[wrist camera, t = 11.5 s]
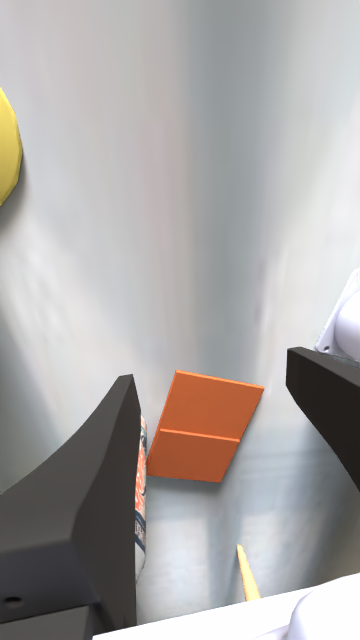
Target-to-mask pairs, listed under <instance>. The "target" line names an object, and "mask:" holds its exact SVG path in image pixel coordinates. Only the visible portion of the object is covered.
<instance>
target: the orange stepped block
mask: <svg viewBox="0 0 360 640" xmlns="http://www.w3.org/2000/svg"><path fill="white" fill-rule="evenodd" d="M263 391H264V387H263V386H259V385H253V384H248V383H243V382H237V381H232V380H227V379H222V378H216V377H211V376H206V375H200V374H195V373H190V372H185V371H179V370H176V372H175V375H174V378H173V381H172V384H171V387H170V390H169V394H168V397H167V400H166V403H165V406H164V409H163V412H162V415H161V418H160V421H159V424H158V427H157V431H156V434H155V437H154V440H153V443H152V446H151V449H150V452H149V455H148V458H147V461H146V475H148V476H158V477H168V478H179V479H189V480H199V481H209V482H219V483H220V482H221V480H222V478H223V476H224V474H225V472H226V470H227V468H228V466H229V463H230V461H231V459H232V457H233V455H234V453H235V451H236V449H237V447H238V444H239V442H240V440H241V438H242V435H243V433H244V431H245V429H246V427H247V425H248V423H249V421H250V418H251V416H252V414H253V412H254V410H255V408H256V406H257V404H258V401H259V399H260V397H261V395H262V393H263Z"/></svg>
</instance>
